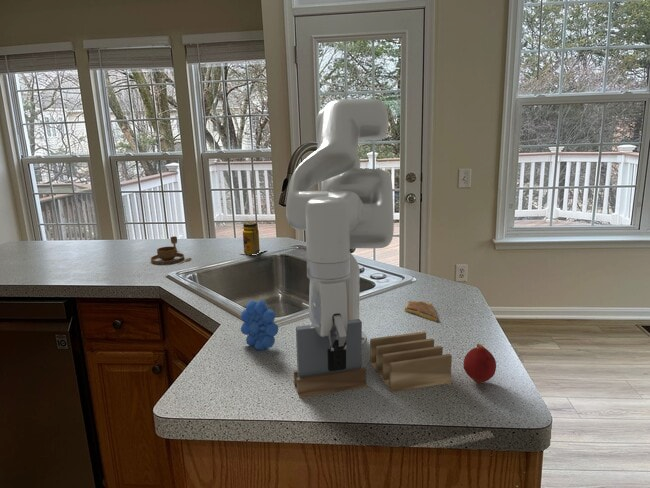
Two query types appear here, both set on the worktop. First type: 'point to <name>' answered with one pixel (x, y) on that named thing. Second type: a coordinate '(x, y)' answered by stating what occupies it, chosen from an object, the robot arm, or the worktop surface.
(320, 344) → the plate
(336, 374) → the plate stand
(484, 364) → the onion
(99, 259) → the worktop surface
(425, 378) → the rack
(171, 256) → the place setting
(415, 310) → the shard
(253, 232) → the condiment
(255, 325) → the grapes
